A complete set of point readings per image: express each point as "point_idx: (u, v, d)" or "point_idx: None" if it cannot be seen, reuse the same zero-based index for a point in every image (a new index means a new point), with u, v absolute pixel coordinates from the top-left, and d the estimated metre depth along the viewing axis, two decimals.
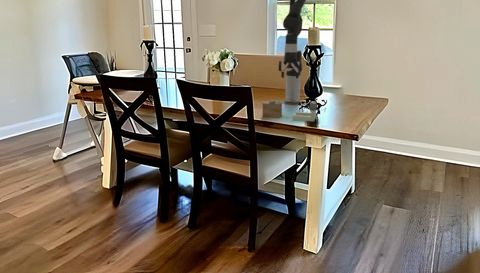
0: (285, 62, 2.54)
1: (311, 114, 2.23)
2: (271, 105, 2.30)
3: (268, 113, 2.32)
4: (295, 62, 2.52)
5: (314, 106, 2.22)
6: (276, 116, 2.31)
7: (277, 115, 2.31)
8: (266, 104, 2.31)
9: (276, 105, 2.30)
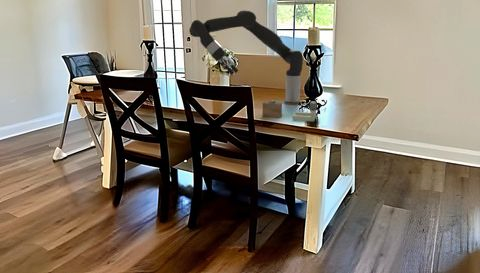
0: None
1: (311, 114, 2.23)
2: (271, 105, 2.30)
3: (268, 113, 2.32)
4: None
5: (314, 106, 2.22)
6: (276, 116, 2.31)
7: (277, 115, 2.31)
8: (266, 104, 2.31)
9: (276, 105, 2.30)
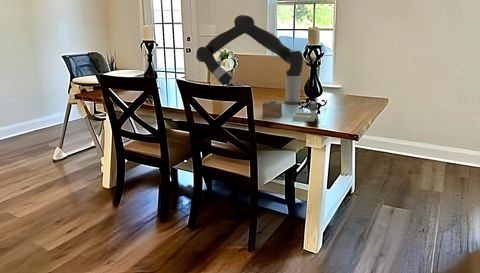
0: None
1: (311, 114, 2.23)
2: (271, 105, 2.30)
3: (268, 113, 2.32)
4: None
5: (314, 106, 2.22)
6: (276, 116, 2.31)
7: (277, 115, 2.31)
8: (266, 104, 2.31)
9: (276, 105, 2.30)
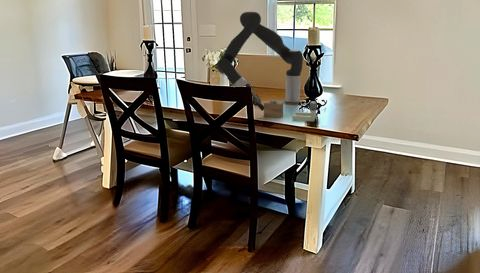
0: None
1: (311, 114, 2.23)
2: (272, 105, 2.30)
3: (269, 113, 2.32)
4: None
5: (314, 106, 2.22)
6: (277, 116, 2.31)
7: (278, 115, 2.31)
8: (267, 104, 2.31)
9: (277, 105, 2.29)
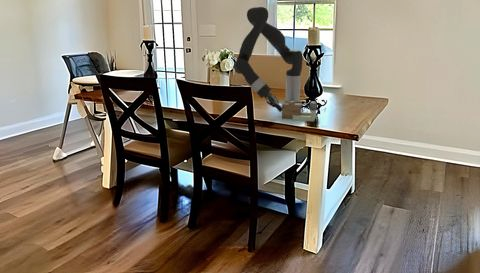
0: None
1: (311, 114, 2.23)
2: (291, 106, 2.27)
3: (287, 114, 2.29)
4: None
5: (314, 106, 2.22)
6: None
7: None
8: (285, 105, 2.28)
9: (296, 106, 2.26)
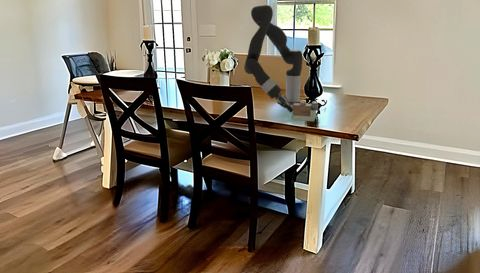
0: None
1: (311, 114, 2.23)
2: (302, 107, 2.26)
3: (298, 115, 2.27)
4: None
5: (316, 106, 2.22)
6: None
7: None
8: (296, 106, 2.26)
9: (307, 107, 2.25)
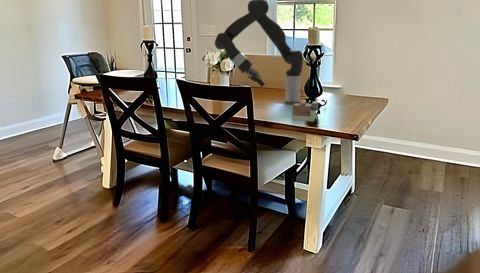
0: None
1: (311, 114, 2.23)
2: (302, 107, 2.26)
3: (298, 115, 2.27)
4: None
5: (316, 106, 2.22)
6: None
7: None
8: (296, 106, 2.26)
9: (307, 107, 2.25)
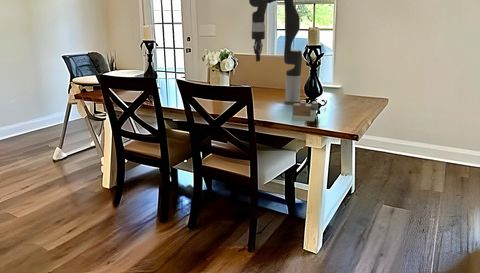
0: None
1: (311, 114, 2.23)
2: (302, 107, 2.26)
3: (298, 115, 2.27)
4: None
5: (316, 106, 2.22)
6: None
7: None
8: (296, 106, 2.26)
9: (307, 107, 2.25)
